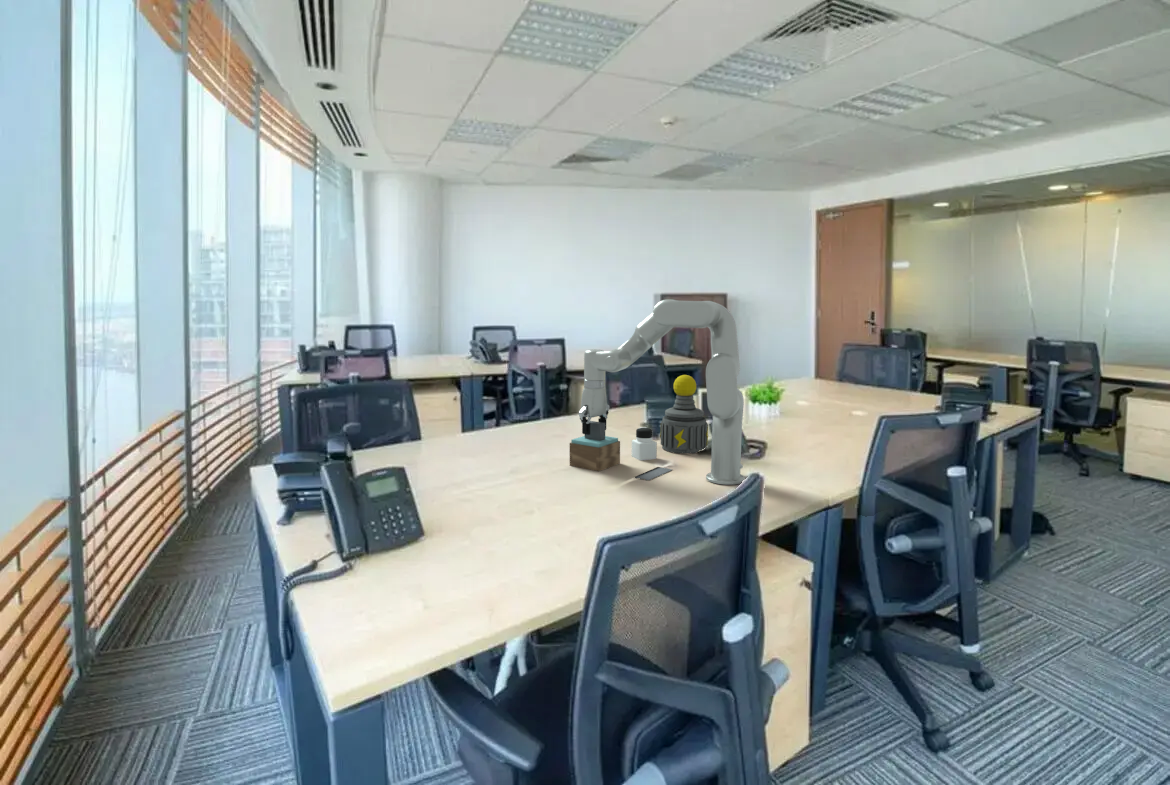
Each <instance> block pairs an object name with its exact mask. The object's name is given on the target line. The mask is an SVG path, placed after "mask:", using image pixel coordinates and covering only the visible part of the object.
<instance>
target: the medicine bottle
mask: <svg viewBox="0 0 1170 785" xmlns="http://www.w3.org/2000/svg"><path fill="white" fill-rule="evenodd" d="M635 438H636V439H632V440H631V457H632V458H634V459H636V460H638V461H650V460H656V459H657V456H658V455H657V454H658V452H657V450H658V448H657V447H658V446H657V445H658V444H657V441H654V440H653V429H652V428H651V427H646V426H644V427H643V426H642V427H639V428H636V430H635Z"/></svg>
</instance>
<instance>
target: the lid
mask: <svg viewBox="0 0 1170 785" xmlns="http://www.w3.org/2000/svg"><path fill="white" fill-rule="evenodd" d="M589 423H590V435H587V434H584V435H582V436H580V437H576V438H573V439H571V442H570V443H575V444H581V445H586V446H592V447H598V448H599V447H602V446H605V445H608V444H611V443H614V442H617V441H619V437H614V436H607V435H606V430H605V423H603V422H598V421H594V420H590V422H589Z"/></svg>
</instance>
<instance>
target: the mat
mask: <svg viewBox="0 0 1170 785" xmlns="http://www.w3.org/2000/svg"><path fill="white" fill-rule="evenodd" d="M671 471H673V469H672V468H667V467H661V466H657V467H654V468H652V469H649V470H646V471H645V472H642V473H640V474H638V475H635V476H634V477H635V478H634V479H637V478H640V479H639V480H642V479H645V480H644V481H647V480H649V481H651V479H652V480H654V479H656V478H658V477H661V476H662V474H663V475H665V474H667V473H669V472H671ZM660 475H661V476H660ZM657 476H658V477H657ZM655 477H656V478H655ZM653 478H654V479H653Z"/></svg>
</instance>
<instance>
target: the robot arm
mask: <svg viewBox="0 0 1170 785" xmlns="http://www.w3.org/2000/svg"><path fill="white" fill-rule="evenodd" d="M673 328H686V329H689V328H691V329H705V328H708V329H709V332H710V349H711V350H710V351H711V358H710V359H709V361H708V362H707V365H706V367H705V383H706V384H705V386H706V401H707V402H706V403H707V408H708V411H709V412H710V414H711V415H712V423H711V424H712V426H711V452H710V453H711V454H710V455H711V456H710V457H711V460H710V461H711V463H710V472H709V473H707V474H706V476H705V478H706V481H708V482H710V483H713V484H719V485H727V486H730V485H732V486H735V485H741V484H742V483H741V482H742V481H743V480H744V479H746V477H745V476H744V475H743V474H741V469H743V464H742V463H741V462H742V461H741V460H742V459H741V458H742V435H743V434H742V433H743V418H744V417H743V416H744V402H745V401H744V396H743V392H742V391H741V390H740V389H739V388H738V378H737V377H738V375H739V374H740V371H741V366H740V356H739V344H738V343H739V342H738V332H737V324H736V321H735V318H734V316H733V314H732V313H731V312H730V311H729V309H728V308H726V307H725V306H724V305H723V304H720V303H718V302H715V301H712V300H677V299H672V298H671V299H670V298H669V299H668V298H667V299H666V298H665V299H662V300H660V301H658V302H657V303H656V304H655V305H654V307H653V309H652V312H651V313H650V314H649V315H648V316H647V317H645V318H644V319H643V320H642V321H640V322H639V323H638V324H637V325H636V327H635V329H634V332H633V334H632V335H631V336H630V337H629V339H628V340H626V341H625V342H624V343H623V344H622V345H620V346H619V347H618V348H616V349H612V350H606V351H605V350H603V349H594V348H593V349H586V350H585V351H584V355H583V357H584V358H583V359H584V360H583V361H584V364H583V367H584V370H583V374H584V375H583V389H582V394H581V401H580V402H581V404H580V410H579V411H578V415H579V420H580V422H581V424H582V425H581V428H582V429H581V430H582V431H581V432H582V433H581V434H583V435H585V434H587V435H590V423H589V422H590V421H592V418H596V417H598V419H597V420H598V421H597V422H603V423H605V431H607V419H608V415H609V411H610V405H609V404H608V403H607V391H606V372H609V373H617V372H619V371H622V370H625V369H627V368H628V367H630V366H631V365H632V364H634V363H635V362H636V361H637V360H639V358H641V357H642V356H643V355H644V354H645V353H646V352H647V351H648V350H650V349H651V348H652V347H653V346H654V344H656V343H657V342H659V340H660V339H662V338H663V337H664V336H665V335H667V334H668V333H669V332H670V331H671V330H672V329H673Z"/></svg>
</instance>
